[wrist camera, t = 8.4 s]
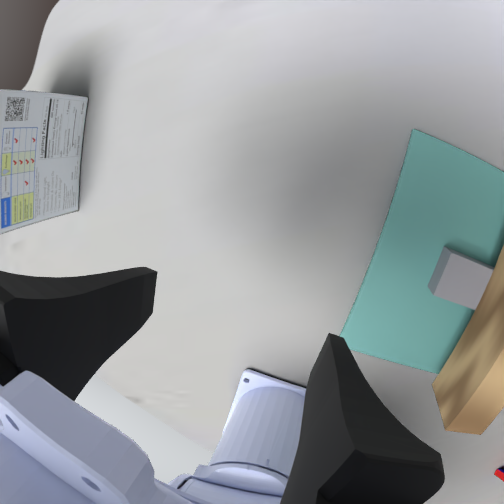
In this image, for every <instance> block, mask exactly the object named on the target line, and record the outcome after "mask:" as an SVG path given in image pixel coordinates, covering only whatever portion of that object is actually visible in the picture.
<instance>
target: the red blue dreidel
mask: <svg viewBox="0 0 504 504" xmlns="http://www.w3.org/2000/svg"><path fill="white" fill-rule="evenodd" d="M494 475H496V476H497V477H498V478H500V479H501V480H503V481H504V469H497V470H496V472H495V473H494Z"/></svg>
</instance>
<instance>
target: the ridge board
mask: <svg viewBox="0 0 504 504" xmlns="http://www.w3.org/2000/svg"><path fill="white" fill-rule="evenodd" d="M503 245H504V172H503V171H501V170H499V169H497V168H496V167H494V166H492V165H490V164H488V163H486V162H485V161H483V160H481V159H479V158H477V157H475V156H473V155H471V154H469V153H467V152H465V151H463V150H461V149H459V148H457V147H454V146H452V145H450V144H448V143H446V142H444V141H441V140H439V139H437V138H434V137H432V136H430V135H427V134H425V133H423V132H420V131H418V130H415V129H412V133H411V137H410V140H409V144H408V148H407V152H406V156H405V159H404V163H403V166H402V170H401V173H400V177H399V180H398V183H397V187H396V190H395V193H394V196H393V199H392V202H391V206H390V209H389V212H388V215H387V218H386V221H385V224H384V226H383V229H382V232H381V235H380V238H379V241H378V243H377V246H376V249H375V252H374V254H373V257H372V259H371V262H370V265H369V267H368V270H367V272H366V275H365V278H364V280H363V283H362V285H361V287H360V290H359V292H358V295H357V297H356V299H355V302H354V304H353V307H352V309H351V311H350V314H349V316H348V318H347V320H346V323H345V325H344V327H343V329H342V331H341V334H340V337H343V338H344V339H345V341H346V343H347V345H348V347H349V349H350V350H354V351H357V352H360V353H364V354H367V355H371V356H374V357H377V358H381V359H384V360H388V361H391V362H395V363H399V364H402V365H406V366H410V367H413V368H417V369H421V370H425V371H429V372H433V373H436V374H439V373H440V371H441V370H442V368H443V367H444V365H445V363H446V362H447V360H448V359H449V357H450V355H451V354H452V352H453V350H454V349H455V347H456V345H457V343H458V342H459V340H460V338H461V336H462V334H463V333H464V331H465V329H466V327H467V325H468V323H469V321H470V320H471V318H472V316H473V314H474V312H475V310H476V308H477V306H478V304H479V302H480V299H481V297H482V295H483V293H484V291H485V289H486V286H487V284H488V282H489V280H490V277H491V275H492V273H493V270H494V268H495V265H496V263H497V260H498V258H499V255H500V253H501V250H502V247H503Z"/></svg>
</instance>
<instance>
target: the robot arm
mask: <svg viewBox="0 0 504 504" xmlns="http://www.w3.org/2000/svg"><path fill="white" fill-rule="evenodd" d="M156 279H157V271H154V270H152V269H149V268H147V267H137V268H130V269H124V270H119V271H113V272H107V273H101V274H94V275H87V276H78V277H61V278H54V277H33V276H25V275H18V274H12V273H7V272H3V271H0V504H423V503H424V502H426V501H427V500H428V499H430V498H431V497H432V496H433V495H434V494H435V493H436V492H437V491H439V489H440V488H441V487H442V485H443V483H444V479H445V475H444V469H443V464H442V458H441V454H440V453H438V452H437V451H435V450H434V449H432V448H431V447H430V446H428V445H427V444H425V443H424V442H422V441H421V440H420V439H418V438H417V437H416V436H415V435H413V434H412V433H411V432H410V431H409V430H407V429H406V428H405V427H404V426H403V425H402V424H401V423H400V422H399V421H398V420H397V419H396V418H395V417H394V416H393V415H392V414H391V413H390V412H389V410H388V409H387V408H386V407H385V406H384V405H383V403H382V402H381V401H380V399H379V398H378V397H377V395H376V394H375V393H374V391H373V390H372V388H371V387H370V385H369V384H368V382H367V381H366V379H365V377H364V376H363V374H362V372H361V370H360V369H359V367H358V365H357V363H356V361H355V359H354V357H353V355H352V353H351V351H350V349H349V347H348V345H347V343H346V341H345V339H344V338H343V337H340V336H337V335H333V334H330V333H329V334H328V336H327V338H326V341H325V343H324V345H323V347H322V349H321V352H320V354H319V356H318V358H317V360H316V362H315V364H314V366H313V369H312V371H311V373H310V377H309V381H308V385H307V389H306V388H303V387H300V386H297V385H293V384H290V383H287V382H284V381H281V380H278V379H275V378H272V377H269V376H267V375H264V374H261V373H258V372H255V371H252V370H249V369H247V370H244V372H243V374H242V377H241V380H240V383H239V386H238V389H237V392H236V395H235V398H234V401H233V404H232V407H231V410H230V413H229V416H228V419H227V421H226V424H225V427H224V430H223V435H222V437H221V439H220V441H219V443H218V445H217V447H216V449H215V451H214V453H213V456H212V458H211V460H210V462H209V464H208V466H205V465H199V466H198V467H197V469H196V471H195V473H194V475H189V474H182V475H180V476H178V477H176V478H175V479H173V480H172V481H170V482H169V483H168V484H165V483H163V482H161V481H159V480H157V479H155V478H154V469H153V467H152V465H151V462H150V460H149V458H148V455H147V454H146V453H145V452H144V451H143V450H142V449H141V448H140V447H139V446H138V445H137V444H136V442H134V440H132V439H131V438H129V437H128V436H127V435H125V434H124V433H122V432H121V431H120V430H118V429H117V428H115V427H114V426H112V425H110V424H109V423H107V422H105V421H104V420H102V419H101V418H99V417H97V416H96V415H94V414H93V413H91V412H89V411H88V410H86V409H85V408H83V407H82V406H80V405H79V404H77V403H76V402H74V401H75V399H76V398H77V396H78V394H79V393H80V392H81V391H82V389H83V388H84V387H85V385H86V384H87V383H88V381H89V380H90V379H91V377H92V376H93V375H94V374H95V373H96V371H97V370H98V369H99V368H100V367H101V365H102V364H103V363H104V362H105V361H106V360H107V359H108V358H109V357H110V356H111V355H113V354H114V353H115V352H116V351H117V350H118V349H119V348H120V347H121V346H122V345H123V344H125V343H126V342H127V341H128V340H129V339H130V338H131V337H132V336H133V335H134V334H135V333H136V332H137V331H138V330H139V329H140V328H141V327H142V326H143V325H144V323H145V322H146V321H147V320H148V318H149V317H150V316H151V314H152V313H153V305H154V296H155V287H156ZM245 378H247V379H249V380H246V379H245Z"/></svg>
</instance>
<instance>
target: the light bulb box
mask: <svg viewBox="0 0 504 504" xmlns="http://www.w3.org/2000/svg"><path fill="white" fill-rule="evenodd" d="M87 102H88V98H87V97H82V96H76V95H67V94H57V93H47V92H37V91H23V90H1V89H0V234H3V233H6V232H9V231H12V230H15V229H18V228H21V227H25V226H28V225H31V224H34V223H37V222H41V221H44V220H47V219H51V218H54V217H58V216H61V215H65V214H69V213H73V212H76V211H78V197H79V176H80V162H81V150H82V140H83V131H84V123H85V115H86V108H87Z"/></svg>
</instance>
